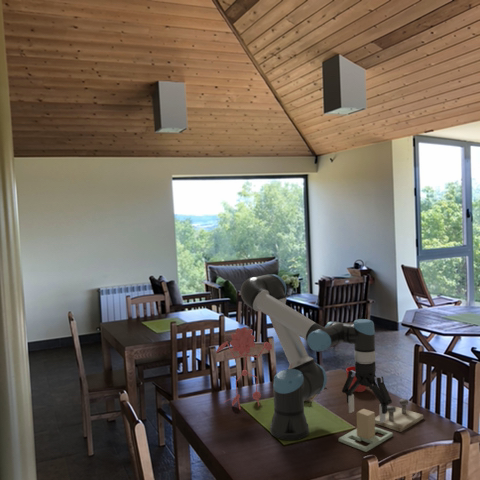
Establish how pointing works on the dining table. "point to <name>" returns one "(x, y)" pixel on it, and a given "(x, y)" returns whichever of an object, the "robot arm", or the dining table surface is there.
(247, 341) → the pink tall branching figurine
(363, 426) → the upright block on base
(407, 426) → the board
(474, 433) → the dining table surface
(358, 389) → the flower pot
